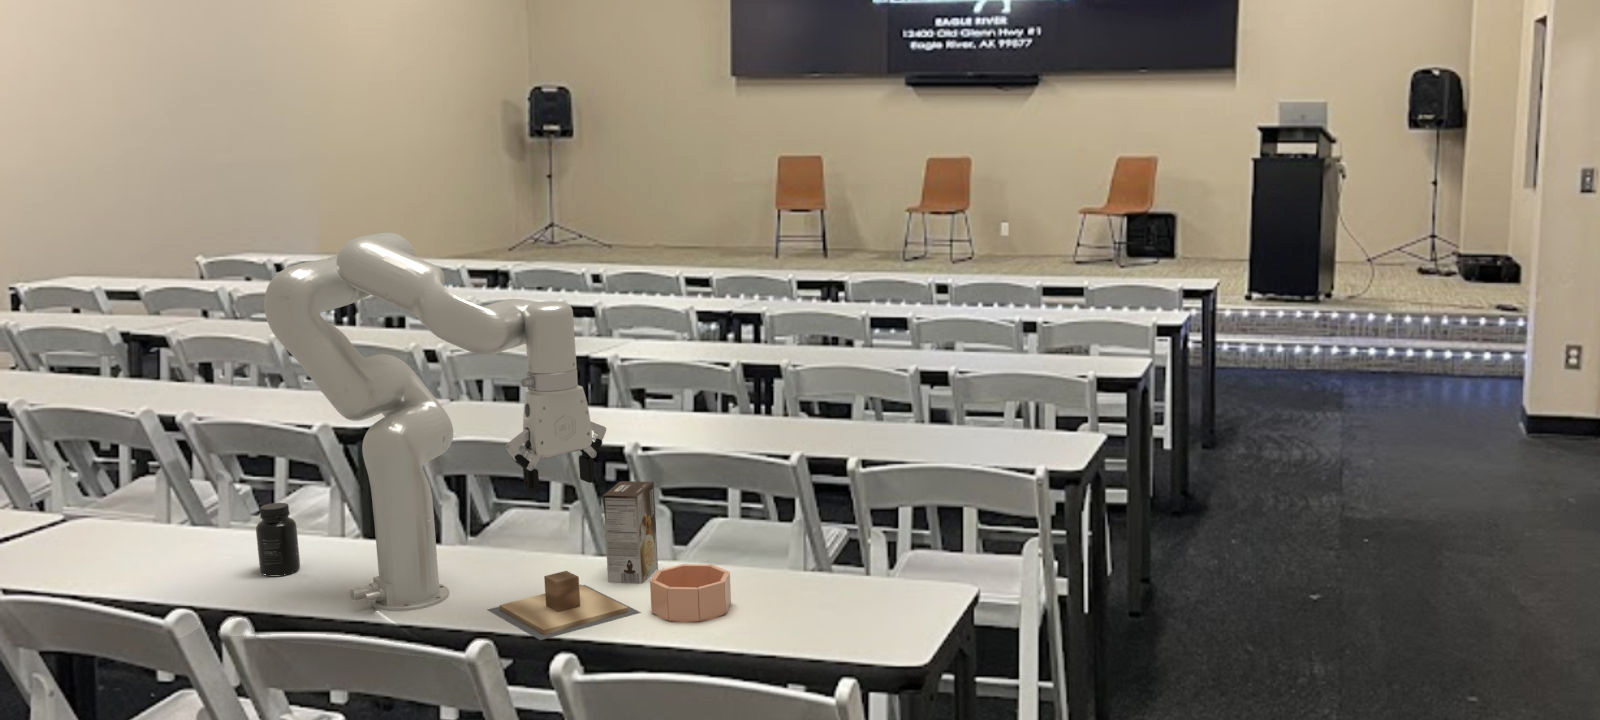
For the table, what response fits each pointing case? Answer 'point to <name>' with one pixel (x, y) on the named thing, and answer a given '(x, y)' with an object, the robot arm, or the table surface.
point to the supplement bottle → (277, 540)
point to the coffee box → (630, 532)
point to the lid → (562, 605)
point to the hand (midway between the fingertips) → (560, 486)
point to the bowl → (690, 593)
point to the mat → (542, 636)
